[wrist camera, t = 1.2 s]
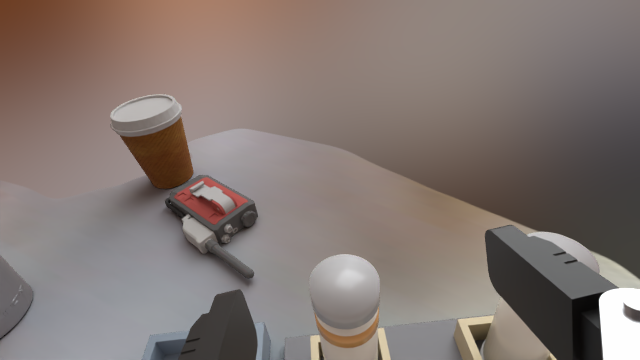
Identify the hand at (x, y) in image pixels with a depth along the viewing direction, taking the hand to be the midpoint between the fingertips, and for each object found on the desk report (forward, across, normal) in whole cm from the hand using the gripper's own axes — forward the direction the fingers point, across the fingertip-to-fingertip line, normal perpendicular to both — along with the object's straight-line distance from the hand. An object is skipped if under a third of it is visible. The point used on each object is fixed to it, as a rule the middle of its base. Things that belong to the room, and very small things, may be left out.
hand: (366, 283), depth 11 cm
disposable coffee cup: (+45, +24, +4) cm, 51 cm away
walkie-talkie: (+33, +15, +10) cm, 37 cm away
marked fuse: (+12, +2, +17) cm, 21 cm away
